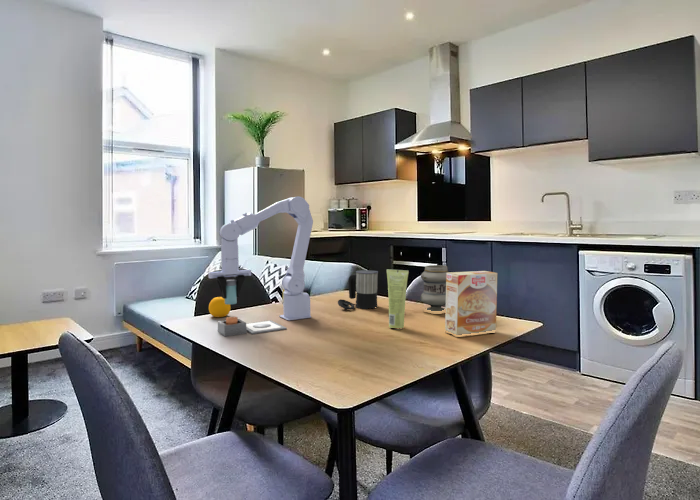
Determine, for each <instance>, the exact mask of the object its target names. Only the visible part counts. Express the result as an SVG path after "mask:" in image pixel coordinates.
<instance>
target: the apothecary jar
mask: <svg viewBox="0 0 700 500" xmlns="http://www.w3.org/2000/svg"><path fill="white" fill-rule="evenodd" d="M446 273H450V271H449V269H448V266H447V265H441V264H440V265H439V264H434V265H433V264H430V265H426V266H424V271H423V272H422V273H421V274H420V278H421V280H422V281H423V292H422V293H420V300H421V302H422V303H424V304H426V305H428V306H430V307H426V308H427V310H431V311H442V310H444V309H446V307H444V306H446Z"/></svg>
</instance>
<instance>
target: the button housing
mask: <svg viewBox="0 0 700 500" xmlns="http://www.w3.org/2000/svg"><path fill="white" fill-rule="evenodd" d="M246 324H247V322H245V321H244V320H242V319H241V318H238V323H236V324H228V325H226V319H225V320H218V321H217V332H218V333H219V334H220V335H222V336H223V337H231V336H238V335H245V334H246V335H247V331H246Z"/></svg>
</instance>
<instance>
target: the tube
mask: <svg viewBox="0 0 700 500" xmlns="http://www.w3.org/2000/svg"><path fill="white" fill-rule="evenodd" d="M409 273H410V272H409V270H403V269H386V278H387V290H388V291H387V292H388V293H387V294H388V328H389V327H390V328H389V329H391V328H403V327H404V328H405V313H406V312H405V310H406V309H405V308H406V299H407V298H406V297H407V286H408V279H409ZM404 328H403V329H404Z"/></svg>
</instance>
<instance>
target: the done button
mask: <svg viewBox="0 0 700 500" xmlns="http://www.w3.org/2000/svg"><path fill="white" fill-rule="evenodd" d="M238 319H239V318H238V316H226V317H225V320H226V325H228V324H236V323H238Z"/></svg>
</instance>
